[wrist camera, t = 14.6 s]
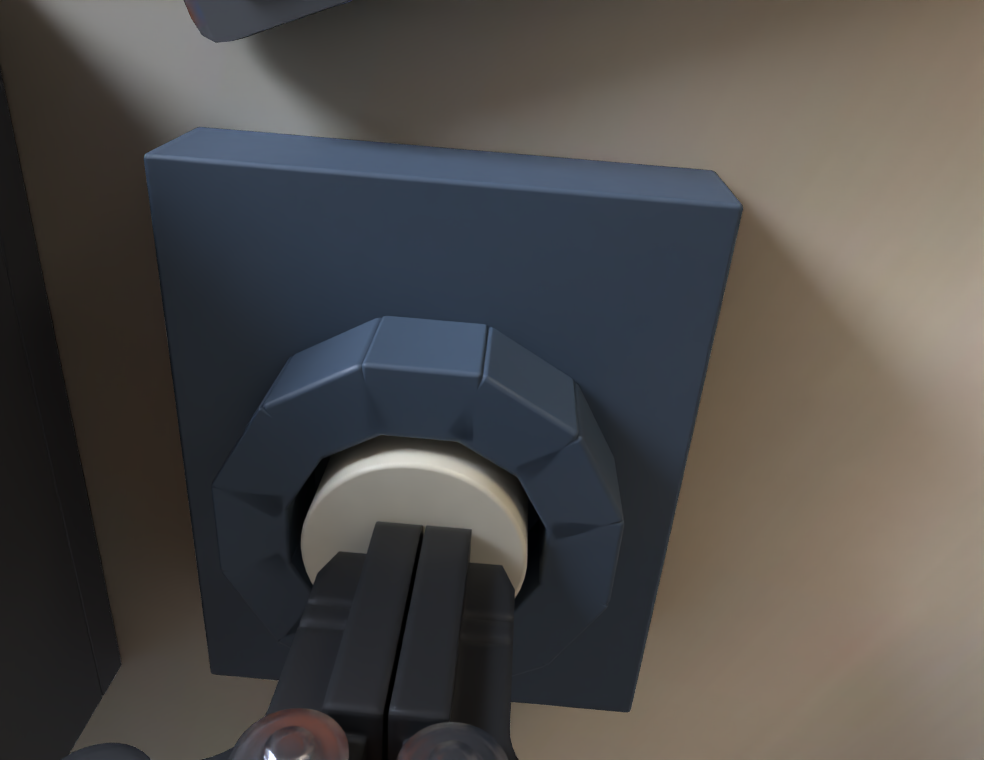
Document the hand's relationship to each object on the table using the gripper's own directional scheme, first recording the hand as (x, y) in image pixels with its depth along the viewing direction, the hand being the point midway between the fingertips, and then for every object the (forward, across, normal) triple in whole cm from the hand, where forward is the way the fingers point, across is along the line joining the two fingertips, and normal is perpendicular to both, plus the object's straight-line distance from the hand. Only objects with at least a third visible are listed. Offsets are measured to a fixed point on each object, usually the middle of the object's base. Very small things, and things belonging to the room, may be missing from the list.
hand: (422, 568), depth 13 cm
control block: (+4, 0, 0) cm, 4 cm away
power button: (+2, 0, 0) cm, 2 cm away
